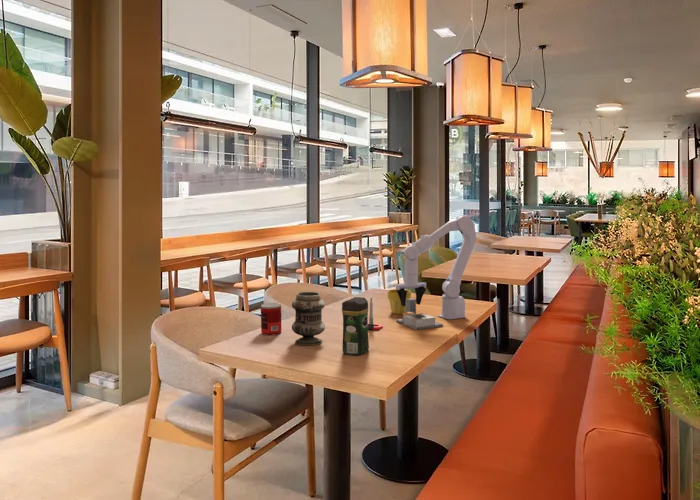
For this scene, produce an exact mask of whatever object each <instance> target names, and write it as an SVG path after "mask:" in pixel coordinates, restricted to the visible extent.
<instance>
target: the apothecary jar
mask: <svg viewBox="0 0 700 500" xmlns="http://www.w3.org/2000/svg"><path fill="white" fill-rule="evenodd" d="M321 297H322V296H321V292H318V291H312V290H311V291H309V290H308V291H307V290H306V291H301V292H297V293H296V297H295V299H294V300H293V301H292V303H291V307H292V308H293V309H294V311H295V315H294V316H295V317H294V319H295V320H294V321H293V322H292V325H291V330H292V332H293V333H295V334H297V335H298V336H301V337H299V338H297V339H296V340H295V341H294V344H295V345H298V346H304V347H307V346H309V347H310V346H317V345H320V344H322V343H323V340H322V339H320V338H319V337H316V336H318V335H320V334H322V333H323V332H324V331H325V329H326V325H325V323H324V321H323V320H322V318H323V317H322V312H323V311H322V310H324V308H325V306H326V303H325V301H324V299H323V298H321Z"/></svg>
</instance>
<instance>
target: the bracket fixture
mask: <svg viewBox="0 0 700 500" xmlns="http://www.w3.org/2000/svg"><path fill="white" fill-rule="evenodd" d="M395 322H396V323H399V324H401V325H404V326H405V327H407V328H410V329H413V330H415V331H420V330H421V331H422V330H428V329H437V328H440V327H441V328H442V327H444V324H443V323H441V322H437V321H436V316H431V315H430V314H426V313H422V312H421V313H416V314H415V313H412V312H403V314H402V318H398V319H396V320H395Z"/></svg>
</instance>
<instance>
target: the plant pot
mask: <svg viewBox="0 0 700 500" xmlns="http://www.w3.org/2000/svg"><path fill="white" fill-rule="evenodd" d="M405 291H407V295H406V299H410V298H412V291H411V290H409V289H405ZM387 299H388V300H389V305H390V310H391V314H396V315H403V312H406V305H405V306H402V305H401V301H400V298H399V295H398V293H397V291H396V288H394V289H388V290H387Z"/></svg>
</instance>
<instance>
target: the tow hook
mask: <svg viewBox="0 0 700 500" xmlns="http://www.w3.org/2000/svg"><path fill="white" fill-rule="evenodd" d="M373 305H374V303H373V297H370V299H369V316H368V331H380V330H381V329H383V328H384V327H383V324H380V323H379V324H378V323H374V316H373V313H374V312H373Z"/></svg>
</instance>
